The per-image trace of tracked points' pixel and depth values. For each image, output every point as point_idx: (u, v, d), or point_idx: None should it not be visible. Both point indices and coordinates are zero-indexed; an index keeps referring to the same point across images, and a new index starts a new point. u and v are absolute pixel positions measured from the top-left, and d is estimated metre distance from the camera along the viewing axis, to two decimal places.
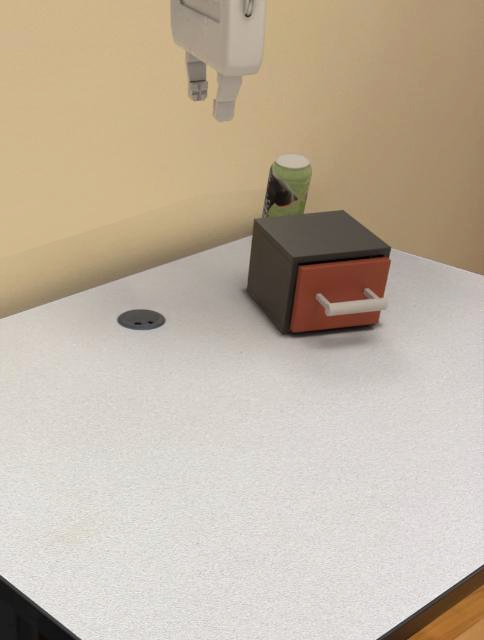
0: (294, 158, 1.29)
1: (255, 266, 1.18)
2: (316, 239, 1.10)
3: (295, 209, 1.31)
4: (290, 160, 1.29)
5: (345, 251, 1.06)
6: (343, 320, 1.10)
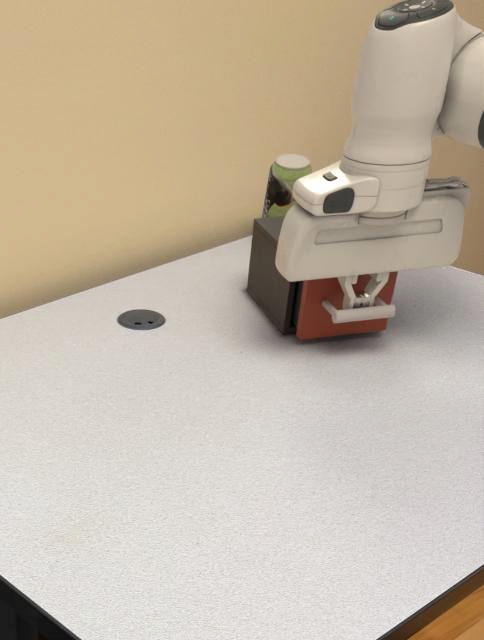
0: (294, 158, 1.29)
1: (255, 266, 1.18)
2: None
3: None
4: (290, 160, 1.29)
5: None
6: (350, 327, 1.08)
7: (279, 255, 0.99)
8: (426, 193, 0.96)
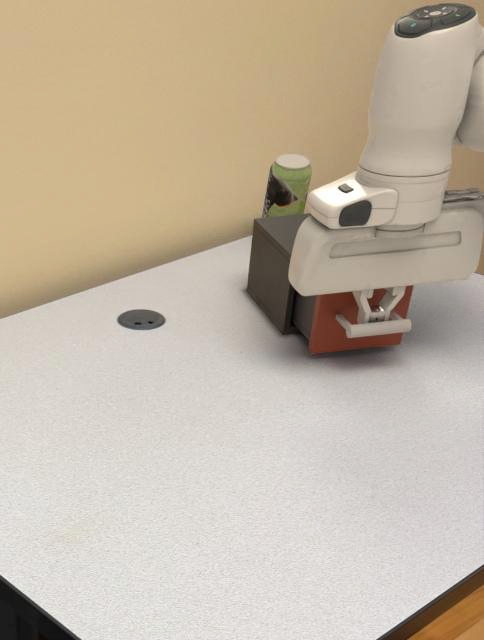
0: (294, 158, 1.29)
1: (255, 266, 1.18)
2: None
3: (295, 209, 1.31)
4: (290, 160, 1.29)
5: None
6: (364, 341, 1.05)
7: (292, 268, 0.96)
8: (445, 205, 0.93)
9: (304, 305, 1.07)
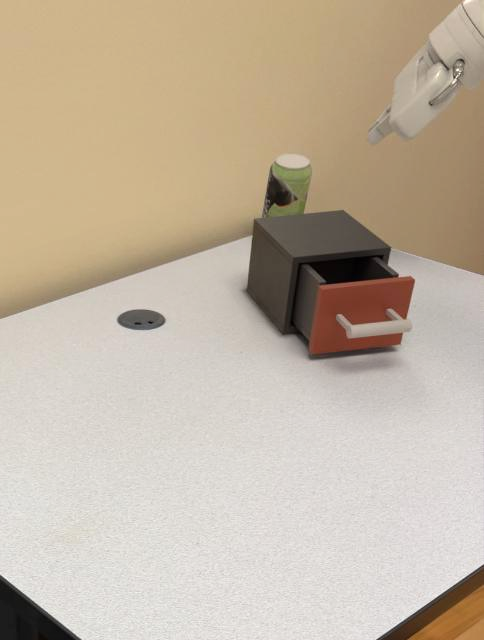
0: (294, 158, 1.29)
1: (255, 266, 1.18)
2: (316, 239, 1.10)
3: (295, 209, 1.31)
4: (290, 160, 1.29)
5: (345, 251, 1.06)
6: (364, 341, 1.05)
7: None
8: (450, 69, 1.08)
9: (304, 305, 1.07)
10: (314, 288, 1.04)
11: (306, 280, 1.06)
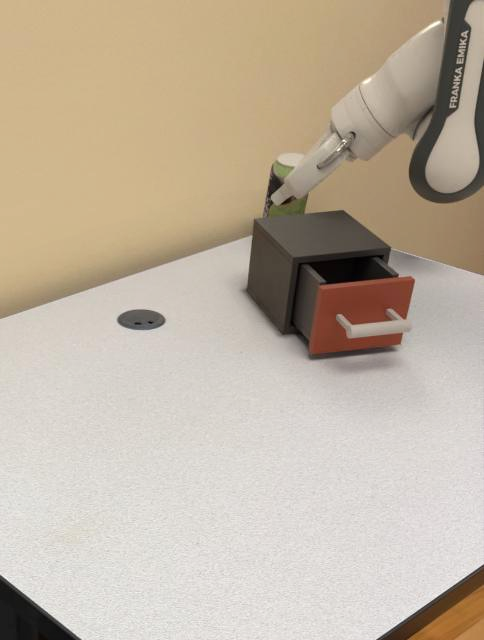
0: (295, 157, 1.29)
1: (255, 266, 1.18)
2: (316, 239, 1.10)
3: (295, 207, 1.31)
4: (291, 159, 1.29)
5: (345, 251, 1.06)
6: (364, 341, 1.05)
7: None
8: None
9: (304, 305, 1.07)
10: (314, 288, 1.04)
11: (306, 280, 1.06)
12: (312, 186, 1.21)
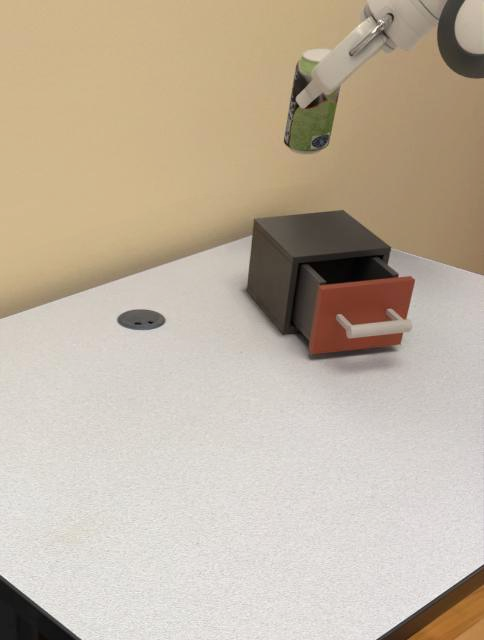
0: (324, 52, 1.14)
1: (255, 266, 1.18)
2: (316, 239, 1.10)
3: (324, 111, 1.16)
4: (318, 55, 1.14)
5: (345, 251, 1.06)
6: (364, 341, 1.05)
7: None
8: None
9: (304, 305, 1.07)
10: (314, 288, 1.04)
11: (306, 280, 1.06)
12: (343, 77, 1.05)
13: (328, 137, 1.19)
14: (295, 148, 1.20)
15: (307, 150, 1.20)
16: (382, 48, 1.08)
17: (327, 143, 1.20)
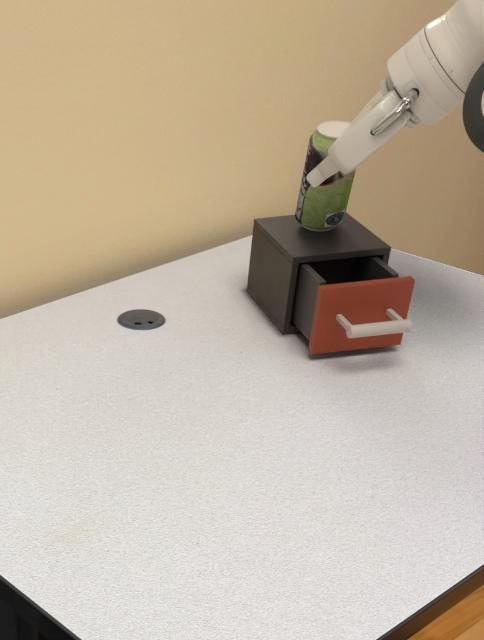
0: (340, 126, 1.05)
1: (255, 266, 1.18)
2: (316, 239, 1.10)
3: (339, 189, 1.07)
4: (334, 129, 1.04)
5: (345, 251, 1.06)
6: (364, 341, 1.05)
7: None
8: (402, 99, 0.95)
9: (304, 305, 1.07)
10: (314, 288, 1.04)
11: (306, 280, 1.06)
12: (364, 157, 0.96)
13: (343, 214, 1.10)
14: (307, 225, 1.11)
15: (320, 228, 1.10)
16: (405, 123, 0.99)
17: (342, 220, 1.11)
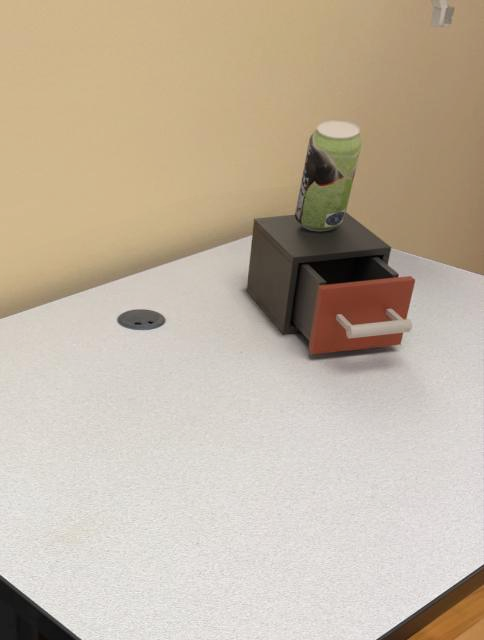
0: (340, 126, 1.05)
1: (255, 266, 1.18)
2: (316, 239, 1.10)
3: (339, 189, 1.07)
4: (334, 129, 1.04)
5: (345, 251, 1.06)
6: (364, 341, 1.05)
7: None
8: None
9: (304, 305, 1.07)
10: (314, 288, 1.04)
11: (306, 280, 1.06)
12: None
13: (343, 214, 1.10)
14: (307, 225, 1.11)
15: (320, 228, 1.10)
16: None
17: (342, 220, 1.11)
